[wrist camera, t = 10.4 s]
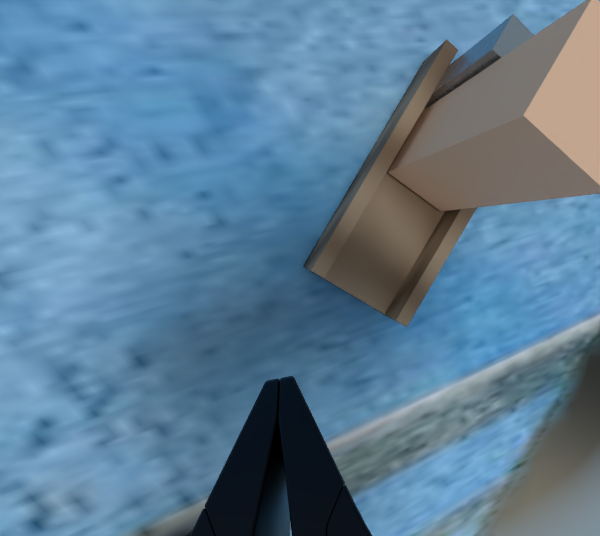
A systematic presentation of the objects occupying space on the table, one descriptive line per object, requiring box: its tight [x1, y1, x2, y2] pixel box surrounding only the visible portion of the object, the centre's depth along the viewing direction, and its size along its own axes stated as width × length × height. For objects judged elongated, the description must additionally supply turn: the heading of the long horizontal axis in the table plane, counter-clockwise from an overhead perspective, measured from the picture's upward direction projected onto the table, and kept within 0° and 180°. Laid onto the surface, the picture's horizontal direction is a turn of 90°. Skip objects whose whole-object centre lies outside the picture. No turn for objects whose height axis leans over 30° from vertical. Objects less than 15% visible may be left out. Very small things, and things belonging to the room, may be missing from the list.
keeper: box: [388, 0, 600, 211], centre depth 16 cm, size 5×5×10 cm
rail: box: [303, 40, 477, 327], centre depth 21 cm, size 17×8×2 cm, turn 149°
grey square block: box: [424, 14, 534, 109], centre depth 18 cm, size 2×6×7 cm, turn 59°
